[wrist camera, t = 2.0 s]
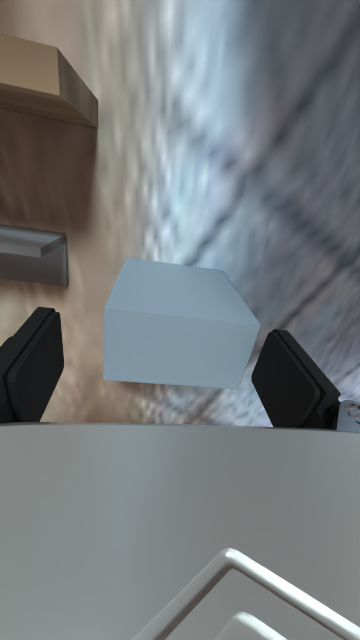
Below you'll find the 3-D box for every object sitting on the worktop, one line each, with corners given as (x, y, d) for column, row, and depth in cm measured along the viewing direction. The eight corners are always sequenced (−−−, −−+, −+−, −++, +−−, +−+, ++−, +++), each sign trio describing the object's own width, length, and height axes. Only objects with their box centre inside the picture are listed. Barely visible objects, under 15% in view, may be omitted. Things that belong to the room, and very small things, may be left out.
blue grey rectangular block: (210, 319, 20) (237, 391, 13) (123, 309, 19) (103, 382, 12) (223, 270, 18) (261, 325, 11) (126, 257, 17) (104, 307, 10)
